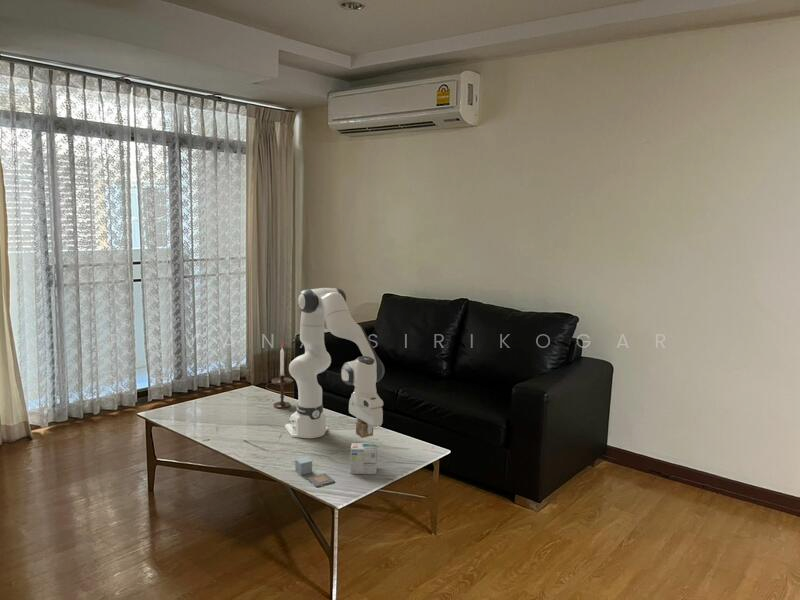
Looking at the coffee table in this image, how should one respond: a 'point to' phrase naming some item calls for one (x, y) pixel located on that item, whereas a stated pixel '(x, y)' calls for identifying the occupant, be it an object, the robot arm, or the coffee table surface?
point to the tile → (321, 480)
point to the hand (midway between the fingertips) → (364, 430)
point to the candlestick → (282, 383)
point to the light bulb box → (363, 458)
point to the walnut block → (362, 429)
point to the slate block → (303, 465)
